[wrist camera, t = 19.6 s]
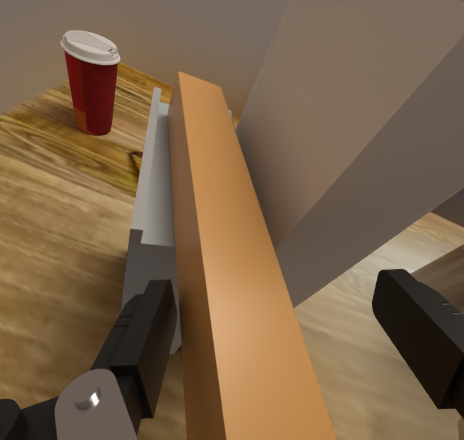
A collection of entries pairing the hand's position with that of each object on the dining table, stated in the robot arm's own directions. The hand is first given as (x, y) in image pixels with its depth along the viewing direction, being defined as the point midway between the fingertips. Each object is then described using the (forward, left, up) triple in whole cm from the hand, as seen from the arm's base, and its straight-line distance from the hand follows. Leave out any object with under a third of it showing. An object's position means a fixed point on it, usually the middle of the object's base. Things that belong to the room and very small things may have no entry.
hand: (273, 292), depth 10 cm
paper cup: (-8, -43, -23) cm, 50 cm away
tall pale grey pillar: (-9, -6, -23) cm, 25 cm away
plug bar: (0, -5, -2) cm, 5 cm away
